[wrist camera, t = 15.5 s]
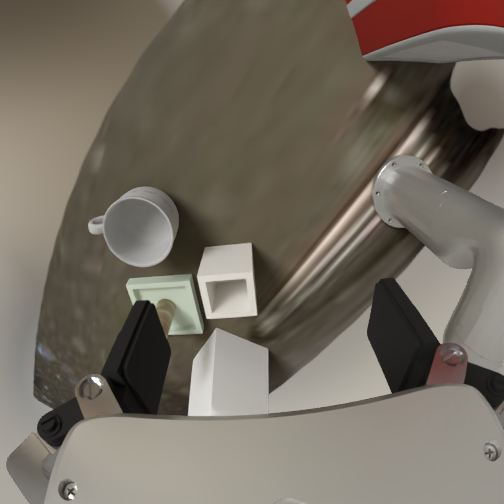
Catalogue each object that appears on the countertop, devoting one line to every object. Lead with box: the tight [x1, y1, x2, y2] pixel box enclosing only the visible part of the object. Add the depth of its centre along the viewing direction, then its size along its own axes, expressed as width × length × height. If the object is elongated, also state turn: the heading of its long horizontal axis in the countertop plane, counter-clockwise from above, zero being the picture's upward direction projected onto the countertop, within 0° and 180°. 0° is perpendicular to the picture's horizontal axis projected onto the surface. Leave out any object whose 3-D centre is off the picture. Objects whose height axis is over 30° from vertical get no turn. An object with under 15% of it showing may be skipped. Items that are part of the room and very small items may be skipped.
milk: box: [188, 328, 269, 416], centre depth 47 cm, size 12×12×26 cm
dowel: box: [156, 299, 176, 338], centre depth 44 cm, size 4×4×16 cm
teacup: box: [88, 187, 179, 267], centre depth 40 cm, size 14×11×8 cm
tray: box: [126, 274, 204, 335], centre depth 51 cm, size 12×12×2 cm
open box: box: [197, 243, 257, 319], centre depth 45 cm, size 8×8×9 cm
